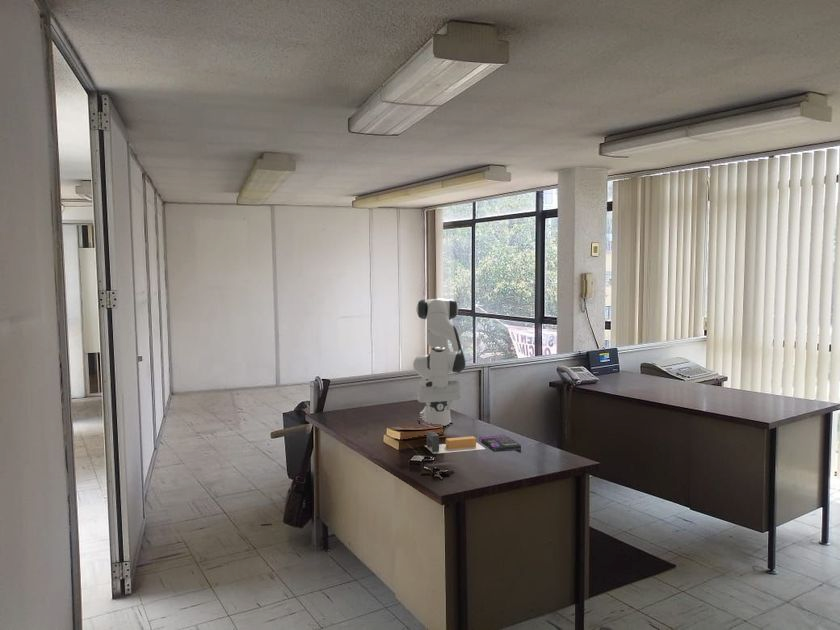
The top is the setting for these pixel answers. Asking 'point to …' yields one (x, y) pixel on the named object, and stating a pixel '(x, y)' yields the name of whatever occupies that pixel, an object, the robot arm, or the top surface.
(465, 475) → the top surface
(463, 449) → the base plate
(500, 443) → the box
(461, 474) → the top surface
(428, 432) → the dark grey block
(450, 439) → the orange foam brick
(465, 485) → the top surface
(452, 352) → the robot arm
